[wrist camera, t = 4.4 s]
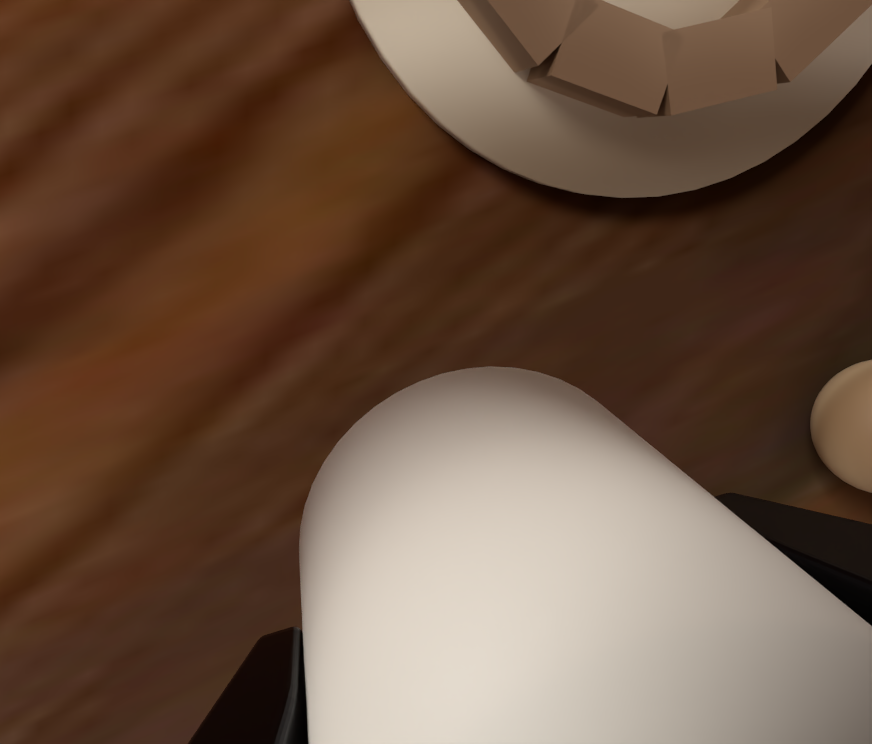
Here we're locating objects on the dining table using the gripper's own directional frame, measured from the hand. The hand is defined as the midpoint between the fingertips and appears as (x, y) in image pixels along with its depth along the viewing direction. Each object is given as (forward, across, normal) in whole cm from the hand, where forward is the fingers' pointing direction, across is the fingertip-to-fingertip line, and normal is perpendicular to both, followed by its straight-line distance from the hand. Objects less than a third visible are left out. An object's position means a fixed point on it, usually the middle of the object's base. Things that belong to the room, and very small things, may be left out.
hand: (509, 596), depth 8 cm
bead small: (+11, -12, +5) cm, 17 cm away
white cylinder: (+1, 0, 0) cm, 1 cm away
